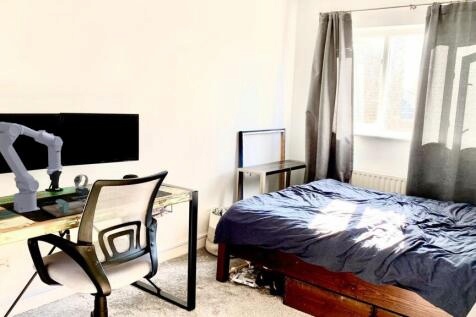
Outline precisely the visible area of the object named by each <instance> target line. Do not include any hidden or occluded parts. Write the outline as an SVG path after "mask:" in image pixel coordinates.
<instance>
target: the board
mask: <svg viewBox="0 0 476 317" xmlns="http://www.w3.org/2000/svg"><path fill="white" fill-rule="evenodd" d="M79 201H82V199H80V200H77V201H70V202H68V203H74V202H79ZM59 205H60V204H58V203H57V204H53V205H52V204H51V205H47V206H42V207H41V208H42V210H44V211H45V212H47V213H50V214H51V215H53V216H54V217H56V218H58V217H65V216H69V215H74V214H81V213H83V212H82V211H83V207H84V206H83V207H78V208H73V209H69V212H68V213H63V212H62V211H57V210H56V206H59Z"/></svg>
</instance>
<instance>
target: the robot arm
mask: <svg viewBox="0 0 476 317" xmlns="http://www.w3.org/2000/svg"><path fill="white" fill-rule="evenodd" d="M19 135H25V136H28V137H31V138H33V139H34V141H35V142H38V143H40V144H43V145H45V146H46V147H47V151H48V152H47V153H48V166H47V167H46V174H47V175H48V176H49V178H50V181H51V183H52V186H58V185H59V181H60V177H61V174H62V173H63V170H62V169H63V165H62V164H61V163H62V162H61V159H62V158H61V150H62V147H63V143H64V142H63V140H62V138H61V137H60V136H56V135H54V133H48V132H46V130H45V129H44V130H43V129H42V130H41V129H40V130H38V131H36V130H34V129H33V128H32V129H31V128H29V127H27V126H25V125H22V124H18V123H14V122H13V123H12V122H5V121H0V153H1V155H2V156H3V158H4V160H5V161H6V163H7V165H8V166H9V168H10V169H11V171H12V173H13V175H14V176H15V177H14V182H15V187H16V188H17V189H18V192H17V193H14V195H13V210H14V211H15V212H17V213H19V214H21V213H27V212H32V211H39V210H41V208H40V207H38V206H37V191H38V190H39V188H40V183H39V180H38V179H35V177H34V176H33V175H32V174H30V173H29V172H28V170H27V168H26V167H25V165H24V164H23V162H22V160H21V158H20V156H19V155H18V153H17V152H16V150H15V148H14V146H13V143H14V142H16V139H17V138H18V137H19Z"/></svg>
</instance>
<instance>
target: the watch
mask: <svg viewBox="0 0 476 317" xmlns="http://www.w3.org/2000/svg"><path fill="white" fill-rule="evenodd" d="M83 177H84V179H85V180H84V182H83ZM73 182H74V186H75V189H74V190H75V194H76V195H79V196H80V195H81V196H85V195H88V194H89V188H88V187H87V186H88V185H89V184H88V183H89V177H88V176H87V175H86V174H82V173H80V174H78V175H76V176H75V177H74V179H73ZM82 182H83V185H82V186H79V185H80V183H82Z"/></svg>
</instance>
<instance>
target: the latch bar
mask: <svg viewBox="0 0 476 317" xmlns="http://www.w3.org/2000/svg"><path fill="white" fill-rule="evenodd" d="M81 200H82V201H81ZM81 200H78V201H79V202H75V201H73V202H74V203H69V202H68V203H69V209H73V208H78V207H83V206H84V205H85V202H86V201H87V199H86V198H82V199H81ZM56 210H57V211H62V205H59V206H56Z"/></svg>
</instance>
